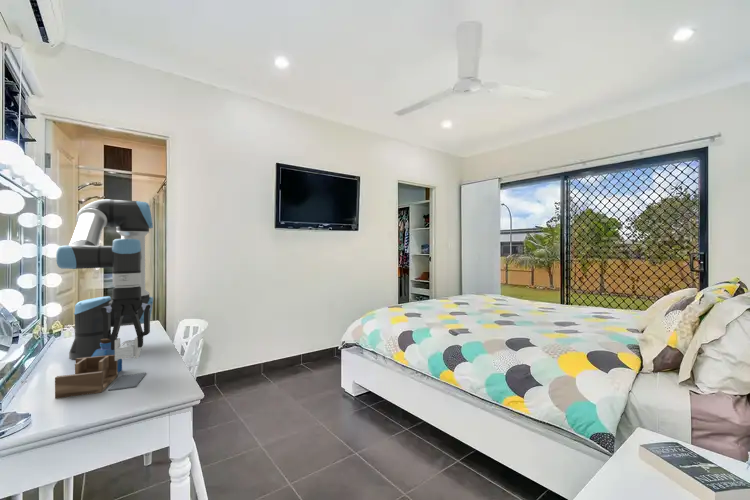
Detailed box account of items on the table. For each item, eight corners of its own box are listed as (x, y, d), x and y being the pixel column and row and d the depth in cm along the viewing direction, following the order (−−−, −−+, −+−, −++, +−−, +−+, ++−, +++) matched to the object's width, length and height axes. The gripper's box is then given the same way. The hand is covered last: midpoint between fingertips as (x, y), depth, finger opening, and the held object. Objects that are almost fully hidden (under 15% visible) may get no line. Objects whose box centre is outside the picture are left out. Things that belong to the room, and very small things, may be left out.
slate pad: (122, 376, 116) (122, 375, 116) (146, 373, 119) (146, 372, 119) (108, 390, 104) (108, 389, 104) (135, 387, 107) (135, 386, 107)
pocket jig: (77, 380, 112) (77, 358, 112) (117, 376, 116) (117, 354, 116) (55, 398, 99) (54, 372, 99) (101, 392, 103) (101, 367, 103)
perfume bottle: (105, 377, 116) (105, 341, 116) (90, 375, 117) (90, 340, 117) (122, 370, 122) (121, 337, 122) (107, 369, 123) (107, 336, 123)
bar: (125, 351, 116) (125, 340, 116) (141, 349, 118) (141, 339, 118) (115, 359, 107) (115, 348, 107) (133, 357, 108) (133, 346, 108)
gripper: (88, 288, 104) (88, 365, 104) (156, 286, 110) (156, 358, 110) (98, 286, 111) (98, 358, 111) (161, 284, 117) (161, 352, 117)
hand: (127, 358), depth 110 cm, fingers closed on bar, 5 cm apart
